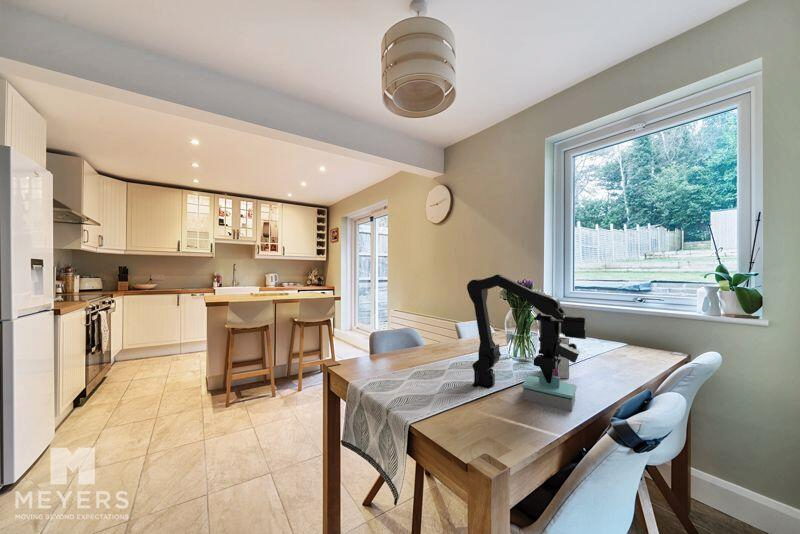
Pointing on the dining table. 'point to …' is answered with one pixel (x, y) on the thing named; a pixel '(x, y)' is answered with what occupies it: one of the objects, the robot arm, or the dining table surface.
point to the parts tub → (548, 399)
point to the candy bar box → (562, 362)
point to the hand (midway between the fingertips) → (549, 382)
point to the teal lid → (550, 386)
